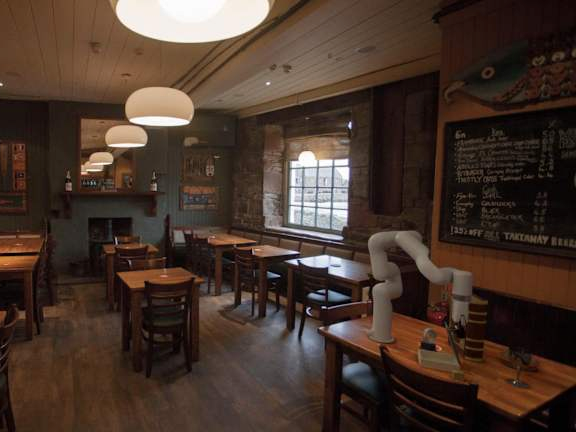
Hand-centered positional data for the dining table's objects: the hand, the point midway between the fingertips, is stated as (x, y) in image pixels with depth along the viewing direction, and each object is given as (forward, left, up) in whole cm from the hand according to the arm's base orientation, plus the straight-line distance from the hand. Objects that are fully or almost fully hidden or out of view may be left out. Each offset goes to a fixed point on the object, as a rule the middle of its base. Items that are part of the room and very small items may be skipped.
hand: (459, 335), depth 182 cm
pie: (+27, +16, -16) cm, 35 cm away
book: (-8, 0, -16) cm, 18 cm away
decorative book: (+7, +23, -16) cm, 29 cm away
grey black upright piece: (-10, +19, -16) cm, 27 cm away
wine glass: (+21, -6, -16) cm, 27 cm away
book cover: (-3, 0, -4) cm, 5 cm away
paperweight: (-2, -13, -16) cm, 21 cm away
